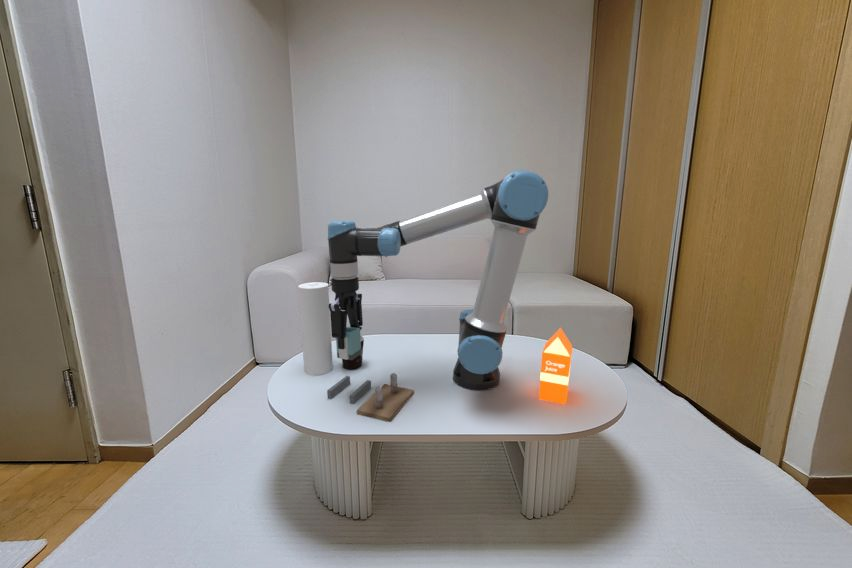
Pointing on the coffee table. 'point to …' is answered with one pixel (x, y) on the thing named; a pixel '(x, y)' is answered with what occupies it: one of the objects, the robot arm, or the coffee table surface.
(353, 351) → the sleeve
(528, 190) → the robot arm
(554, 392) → the orange juice
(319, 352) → the cylinder container
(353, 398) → the feeder rails
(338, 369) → the coffee table surface
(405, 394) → the pin board
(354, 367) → the coffee mug
